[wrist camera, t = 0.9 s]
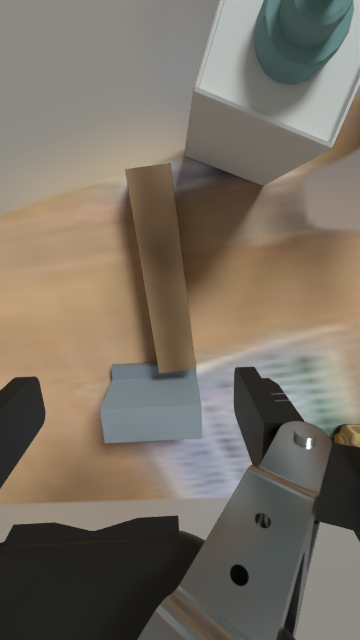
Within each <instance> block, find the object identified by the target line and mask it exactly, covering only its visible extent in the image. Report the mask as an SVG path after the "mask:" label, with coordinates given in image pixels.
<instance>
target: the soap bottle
mask: <svg viewBox="0 0 360 640" xmlns="http://www.w3.org/2000/svg"><path fill="white" fill-rule="evenodd" d="M359 85H360V0H219V3H218V6H217V10H216V13H215V17H214V20H213V24H212V27H211V30H210V34H209V37H208V40H207V44H206V47H205V51H204V54H203V58H202V61H201V65H200V68H199V71H198V75H197V78H196V82H195V85H194V89H193V96H192V104H191V110H190V118H189V126H188V132H187V139H186V147H185V155H186V156H187V157H189V158H192V159H195V160H197V161H200V162H202V163H205V164H208V165H210V166H213V167H215V168H218V169H221V170H223V171H226V172H228V173H231V174H234V175H236V176H239V177H241V178H244V179H246V180H249V181H252V182H254V183H257V184H259V185H262V186H263V185H266V184H268V183H269V182H271V181H273V180H275V179H277V178H279V177H280V176H282V175H284V174H286V173H288V172H289V171H291V170H293V169H295V168H297V167H299V166H300V165H302V164H304V163H306V162H308V161H310V160H311V159H313V158H315V157H317V156H319V155H320V154H322V153H324V152H326V151H328V150H330V149H331V148H332V147H333V145H334V143H335V140H336V138H337V136H338V133H339V131H340V129H341V126H342V124H343V122H344V119H345V117H346V115H347V112H348V110H349V108H350V106H351V103H352V101H353V99H354V96H355V94H356V92H357V89H358V87H359Z"/></svg>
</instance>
